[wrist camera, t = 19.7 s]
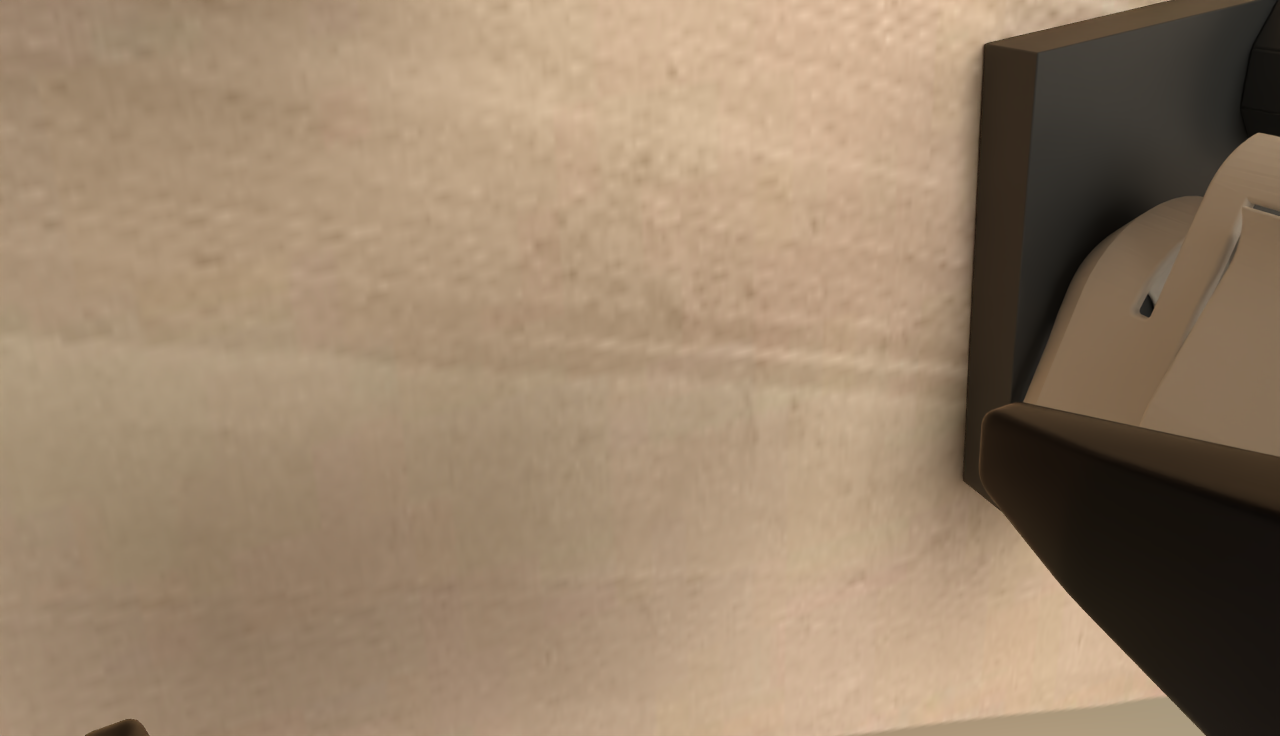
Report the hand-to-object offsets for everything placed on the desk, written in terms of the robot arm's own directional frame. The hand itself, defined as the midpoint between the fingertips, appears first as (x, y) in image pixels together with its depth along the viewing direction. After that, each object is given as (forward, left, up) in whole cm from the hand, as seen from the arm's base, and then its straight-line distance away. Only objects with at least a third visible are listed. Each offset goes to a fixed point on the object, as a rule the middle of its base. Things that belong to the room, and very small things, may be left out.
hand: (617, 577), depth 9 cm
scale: (+6, +21, -13) cm, 25 cm away
